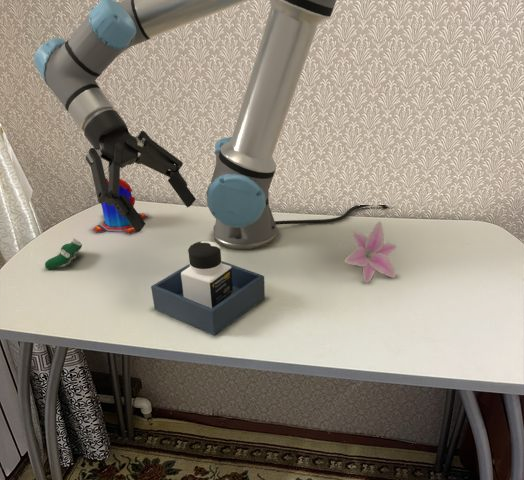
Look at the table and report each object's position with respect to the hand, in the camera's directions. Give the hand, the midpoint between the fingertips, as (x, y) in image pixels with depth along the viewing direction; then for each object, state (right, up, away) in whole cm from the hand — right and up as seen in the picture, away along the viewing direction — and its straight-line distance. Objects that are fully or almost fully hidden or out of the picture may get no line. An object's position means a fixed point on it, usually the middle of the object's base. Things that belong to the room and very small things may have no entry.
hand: (167, 215), depth 106 cm
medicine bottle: (+7, -16, +5) cm, 18 cm away
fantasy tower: (-18, +7, +37) cm, 42 cm away
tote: (+8, -16, +6) cm, 19 cm away
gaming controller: (-27, -5, +22) cm, 35 cm away
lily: (+41, -9, +14) cm, 44 cm away
